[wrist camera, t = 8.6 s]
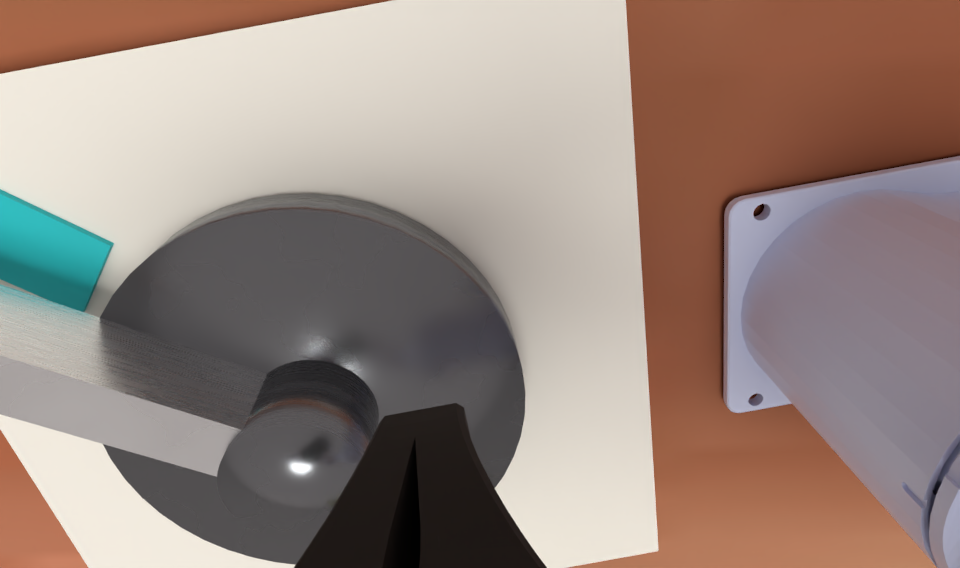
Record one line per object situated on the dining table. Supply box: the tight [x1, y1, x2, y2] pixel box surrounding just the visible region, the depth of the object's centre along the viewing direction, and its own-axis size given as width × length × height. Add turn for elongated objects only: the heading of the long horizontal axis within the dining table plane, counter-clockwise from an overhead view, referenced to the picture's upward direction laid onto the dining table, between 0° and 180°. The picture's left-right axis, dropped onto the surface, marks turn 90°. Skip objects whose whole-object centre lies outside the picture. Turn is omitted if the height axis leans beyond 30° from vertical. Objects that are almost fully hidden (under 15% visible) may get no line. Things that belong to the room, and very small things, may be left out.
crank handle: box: [0, 193, 525, 565], centre depth 16 cm, size 22×12×4 cm, turn 64°
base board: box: [0, 0, 658, 568], centre depth 19 cm, size 20×20×2 cm
